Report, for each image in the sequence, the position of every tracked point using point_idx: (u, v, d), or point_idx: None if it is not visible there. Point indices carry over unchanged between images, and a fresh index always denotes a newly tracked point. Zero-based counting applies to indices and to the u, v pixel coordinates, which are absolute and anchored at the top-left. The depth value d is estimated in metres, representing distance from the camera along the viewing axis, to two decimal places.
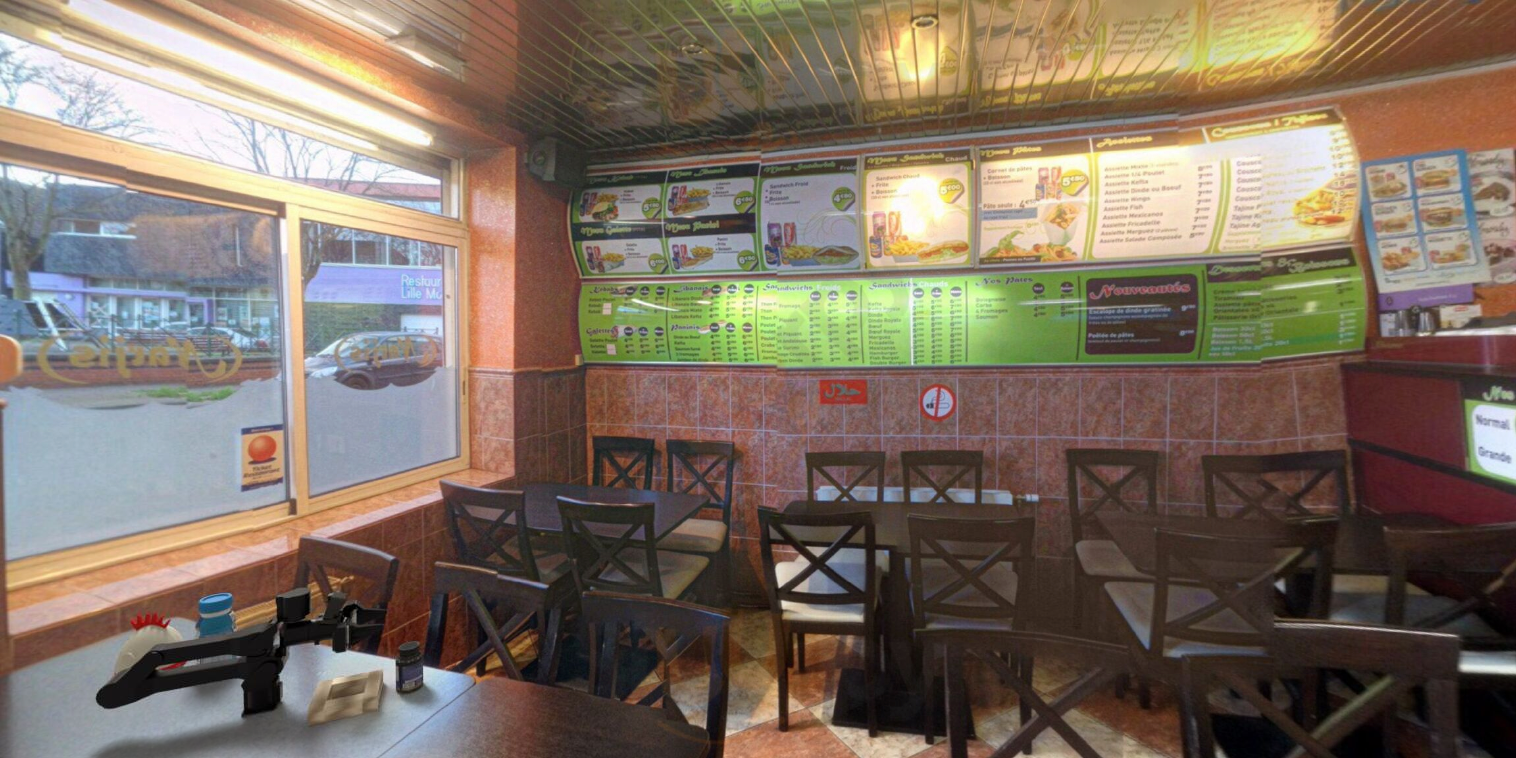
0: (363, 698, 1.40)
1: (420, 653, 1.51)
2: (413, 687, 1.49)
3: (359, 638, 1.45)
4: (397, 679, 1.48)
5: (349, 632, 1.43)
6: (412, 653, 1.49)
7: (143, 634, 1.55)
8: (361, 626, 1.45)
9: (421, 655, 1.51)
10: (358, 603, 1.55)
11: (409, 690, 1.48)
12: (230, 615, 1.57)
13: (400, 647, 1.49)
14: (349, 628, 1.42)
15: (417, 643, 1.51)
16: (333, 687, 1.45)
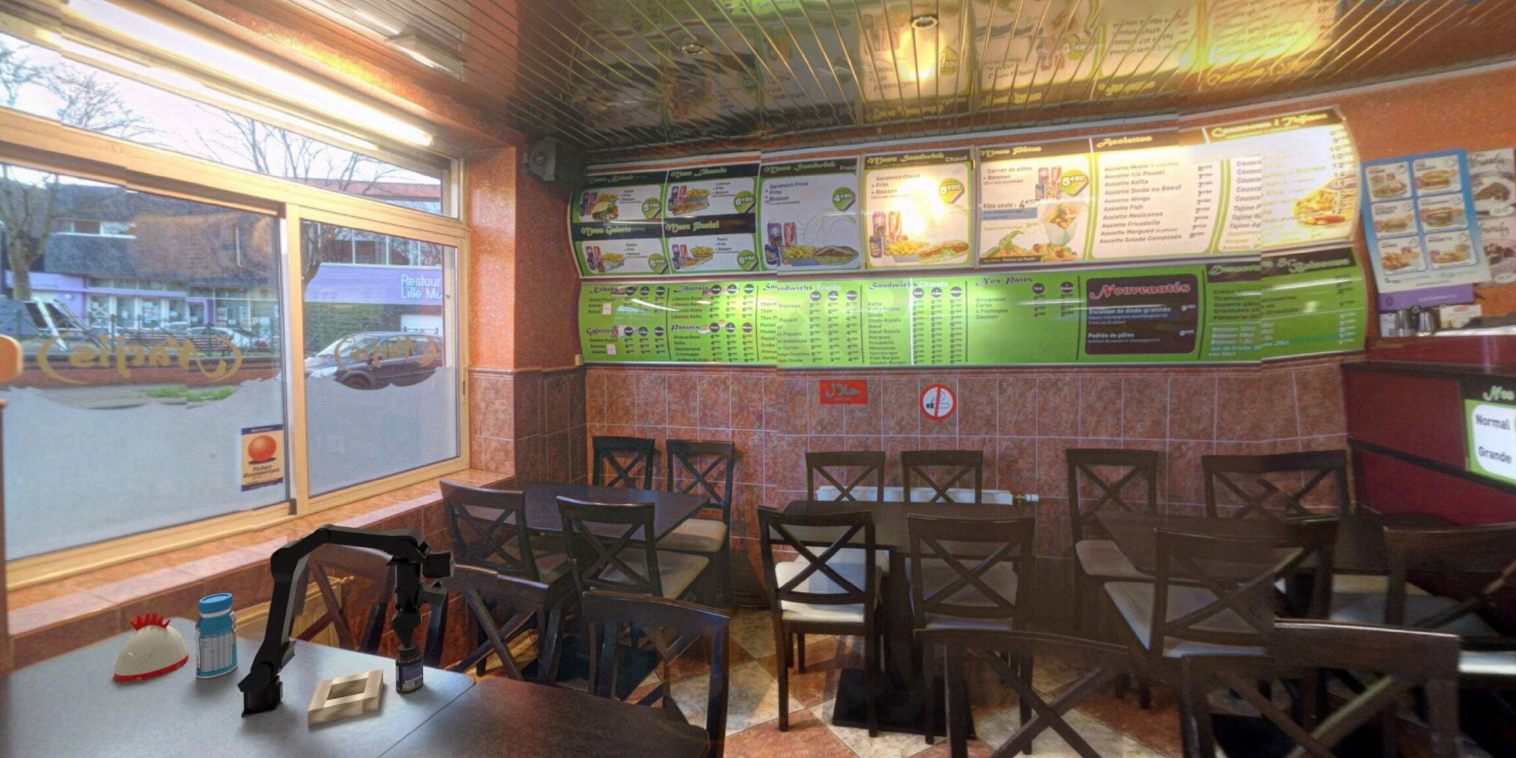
0: (363, 698, 1.40)
1: (420, 653, 1.51)
2: (413, 687, 1.49)
3: (401, 632, 1.44)
4: (397, 679, 1.48)
5: (412, 626, 1.43)
6: (412, 653, 1.49)
7: (143, 634, 1.55)
8: (413, 631, 1.46)
9: (421, 655, 1.51)
10: None
11: (409, 690, 1.48)
12: (230, 615, 1.57)
13: (400, 647, 1.49)
14: (417, 625, 1.44)
15: (417, 643, 1.51)
16: (333, 687, 1.45)
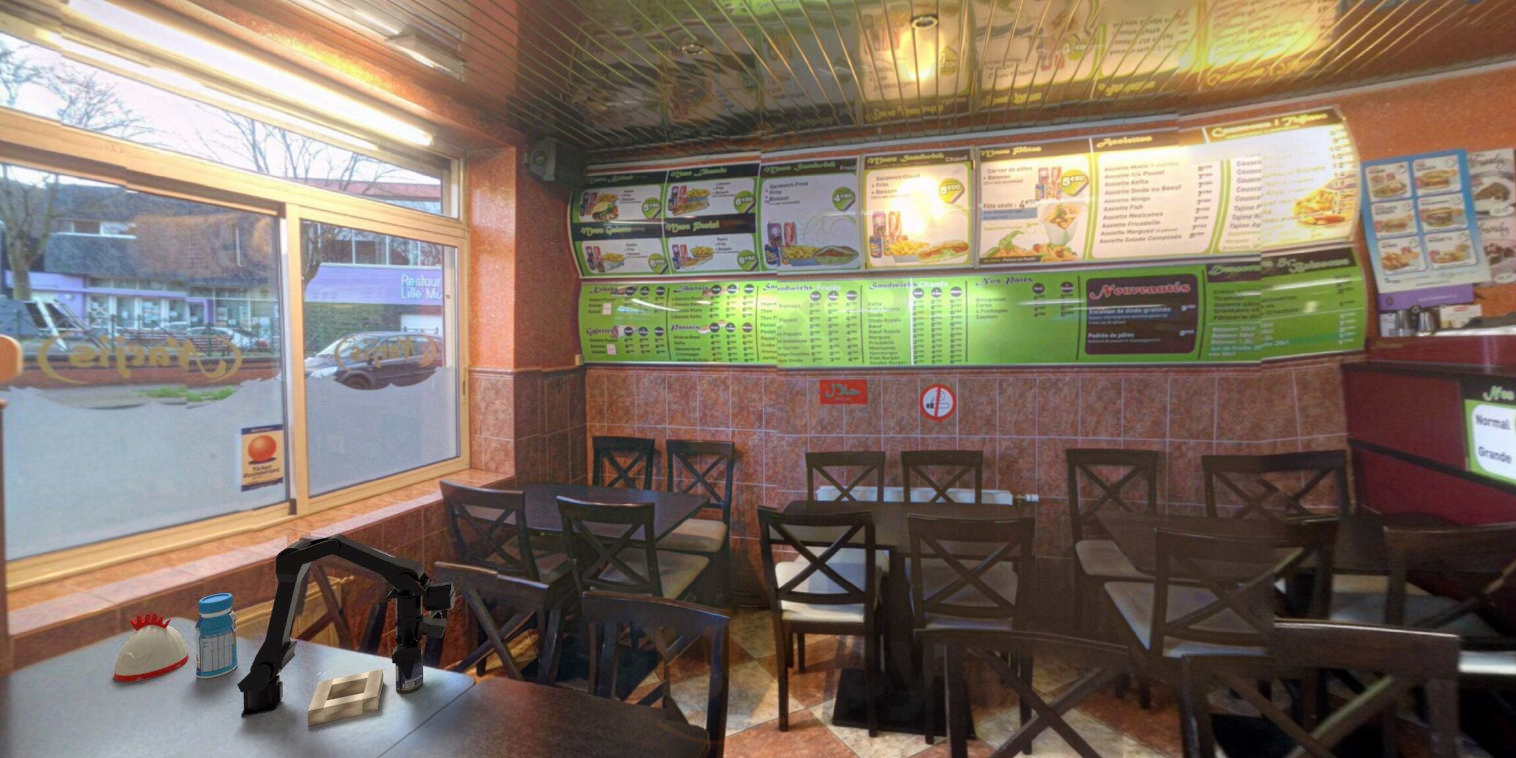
0: (363, 698, 1.40)
1: None
2: (413, 687, 1.49)
3: (401, 663, 1.45)
4: (397, 679, 1.48)
5: None
6: None
7: (143, 634, 1.55)
8: (414, 661, 1.47)
9: None
10: None
11: (409, 690, 1.48)
12: (230, 615, 1.57)
13: None
14: None
15: None
16: (333, 687, 1.45)
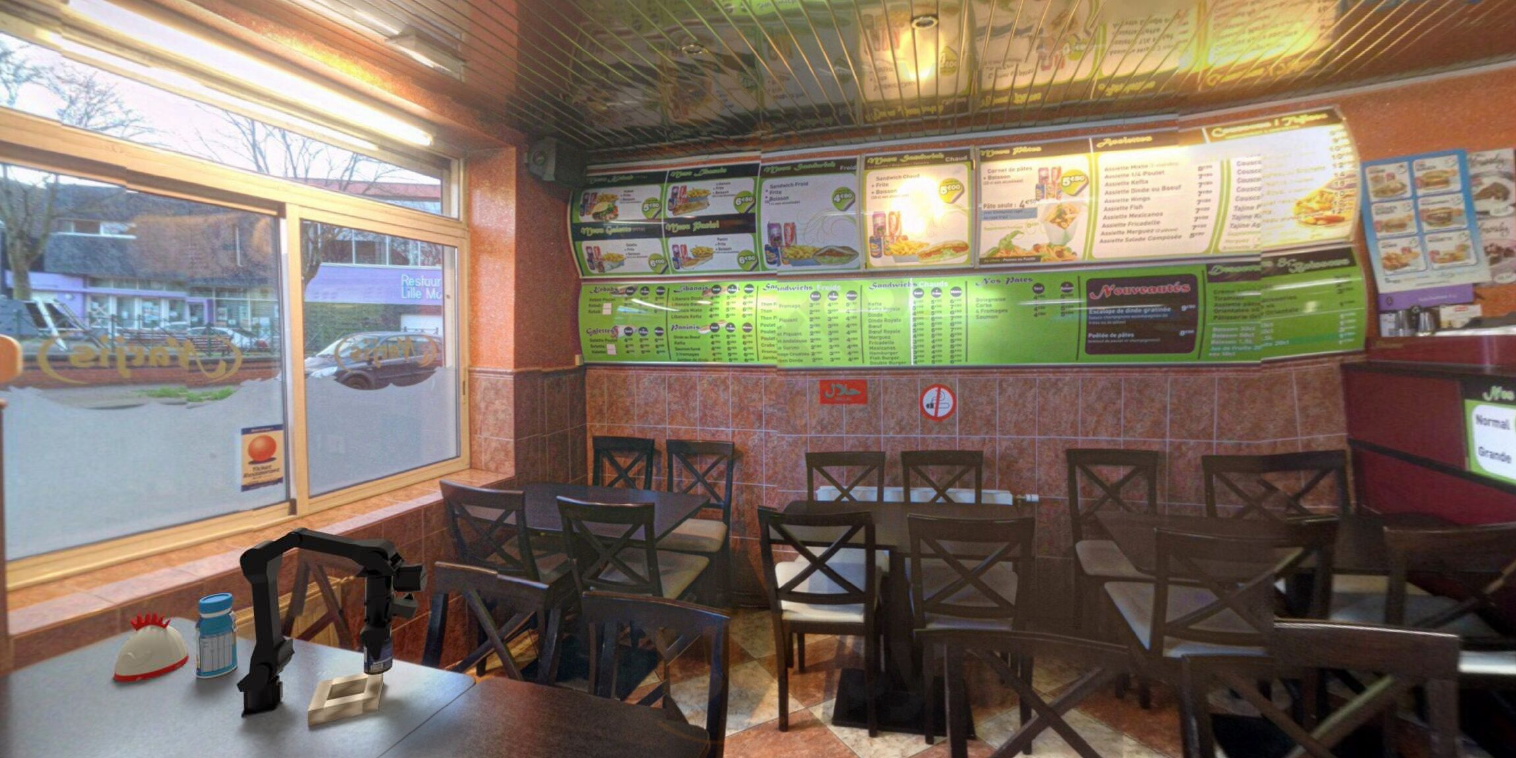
0: (363, 698, 1.40)
1: None
2: (382, 669, 1.45)
3: (369, 644, 1.42)
4: (365, 660, 1.44)
5: None
6: None
7: (143, 634, 1.55)
8: (382, 642, 1.43)
9: (391, 636, 1.47)
10: None
11: (377, 672, 1.44)
12: (230, 615, 1.57)
13: None
14: None
15: None
16: (333, 687, 1.45)
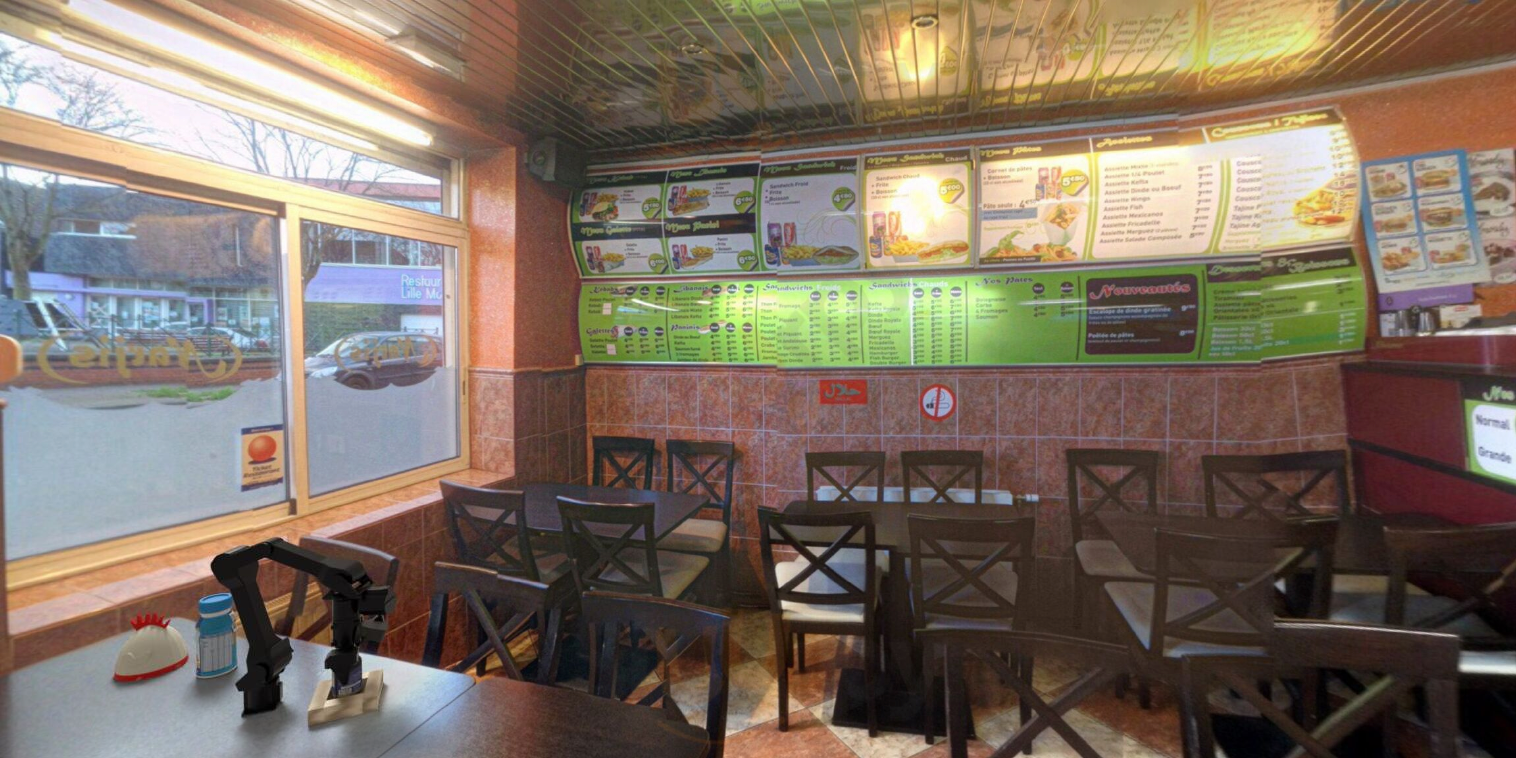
0: (363, 698, 1.40)
1: None
2: (350, 693, 1.42)
3: (336, 668, 1.38)
4: (333, 685, 1.41)
5: None
6: None
7: (143, 634, 1.55)
8: (350, 667, 1.40)
9: (359, 660, 1.44)
10: None
11: None
12: (230, 615, 1.57)
13: None
14: None
15: None
16: None
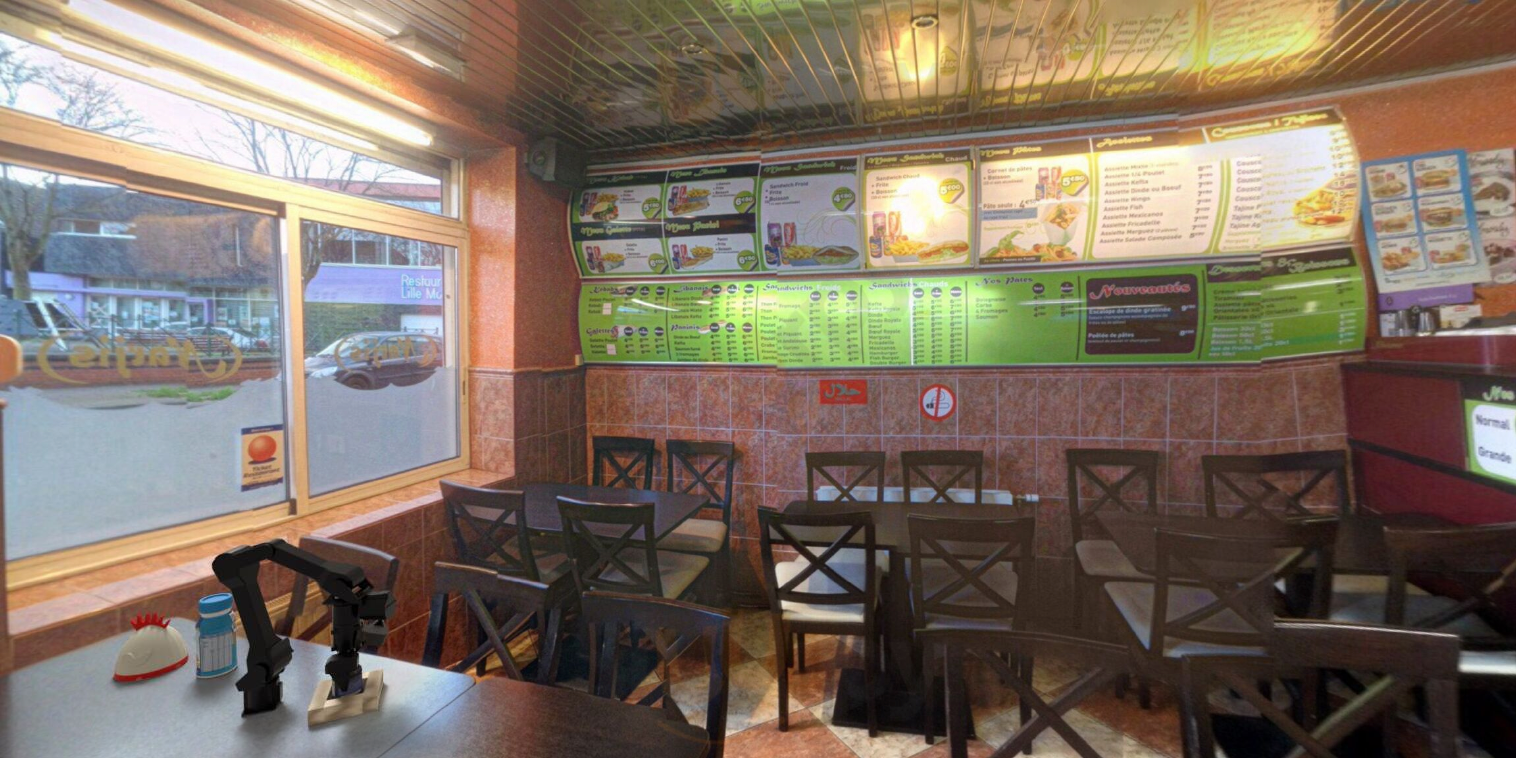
0: (363, 698, 1.40)
1: (358, 666, 1.44)
2: None
3: (336, 675, 1.38)
4: (333, 694, 1.41)
5: None
6: None
7: (143, 634, 1.55)
8: None
9: (360, 669, 1.44)
10: None
11: None
12: (230, 615, 1.57)
13: None
14: None
15: None
16: None
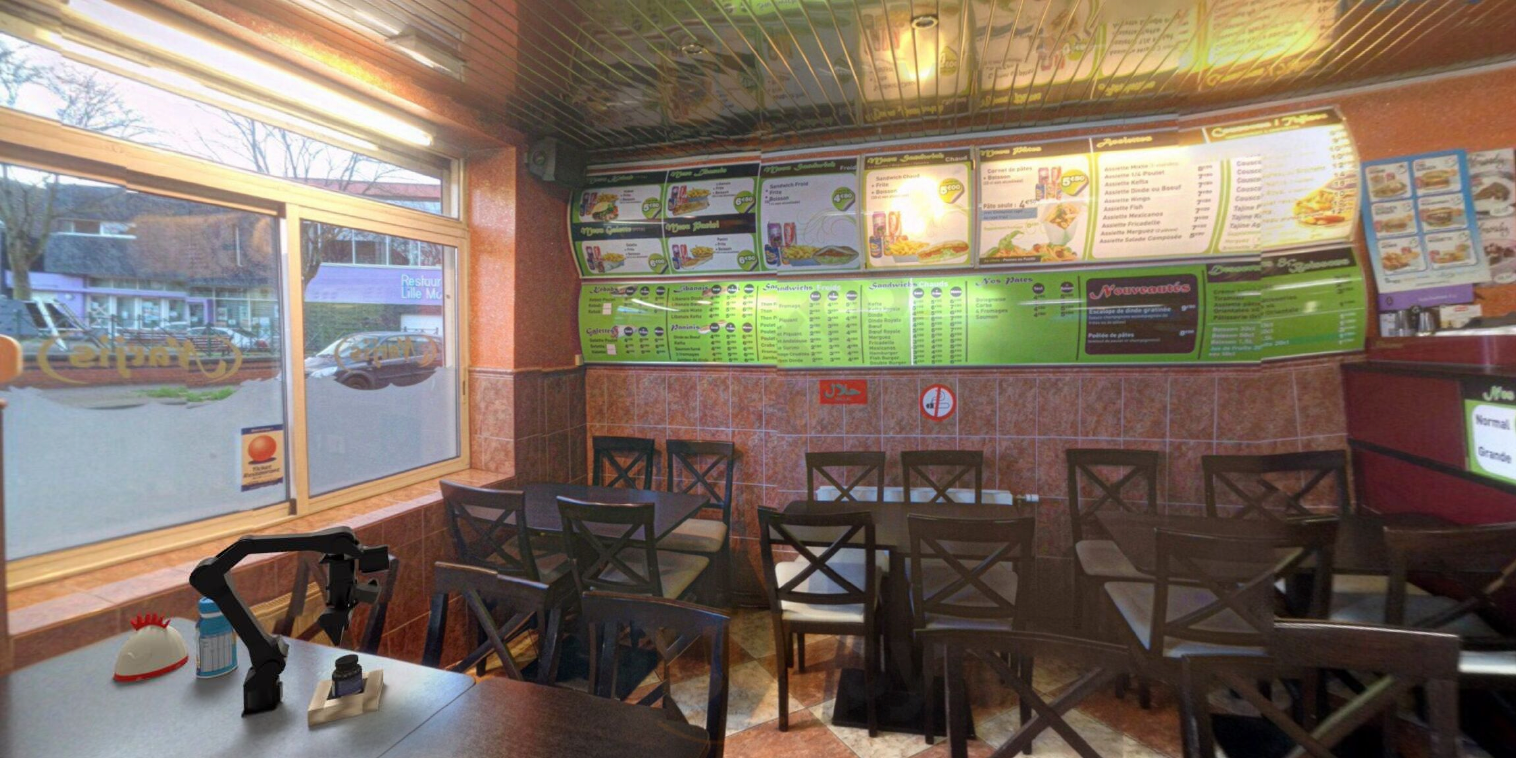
0: (363, 698, 1.40)
1: (358, 666, 1.44)
2: None
3: (329, 629, 1.44)
4: (333, 694, 1.41)
5: (340, 624, 1.43)
6: (349, 667, 1.42)
7: (143, 634, 1.55)
8: (342, 628, 1.45)
9: (360, 669, 1.44)
10: None
11: None
12: None
13: (337, 660, 1.42)
14: (344, 623, 1.43)
15: (356, 656, 1.45)
16: None
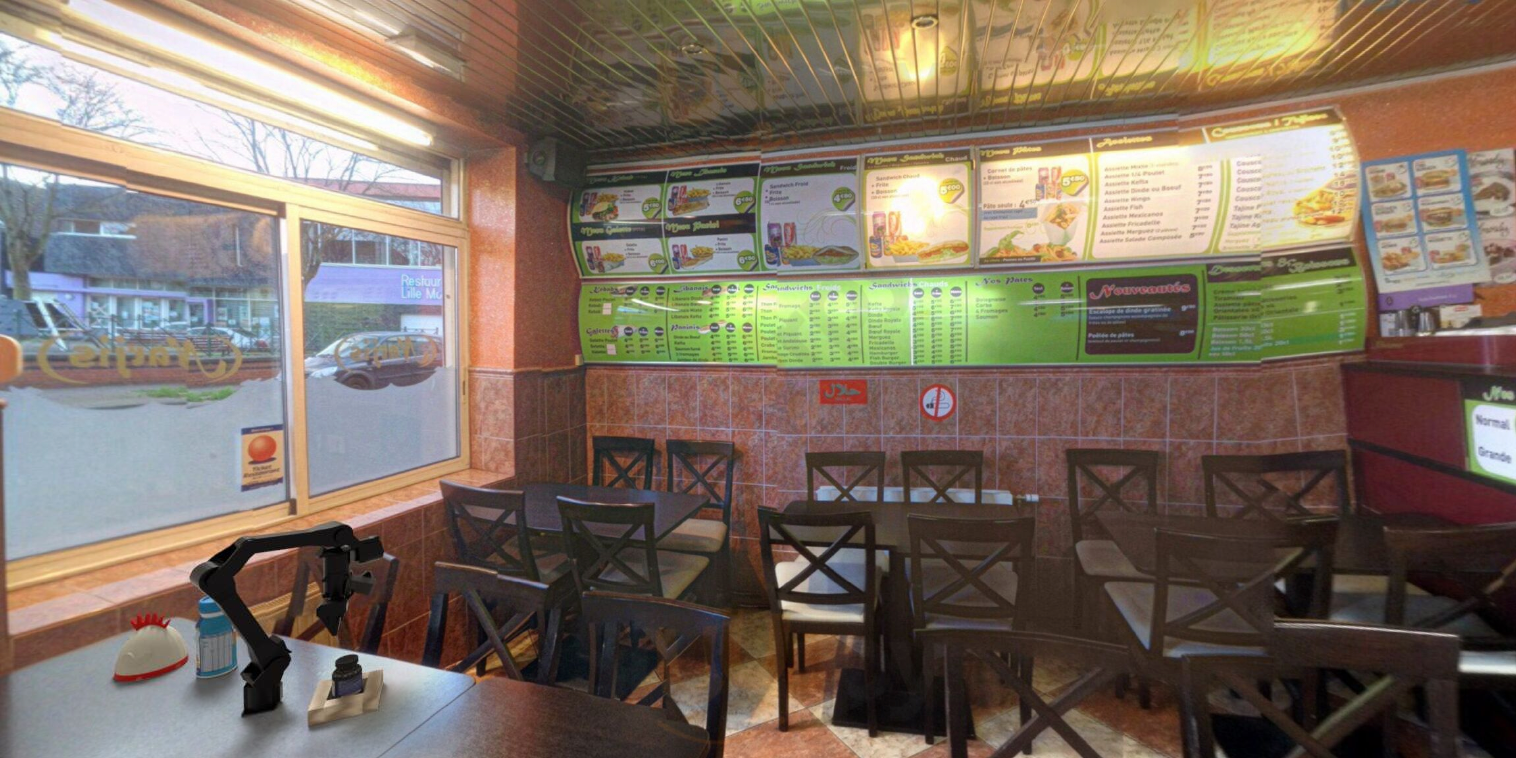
0: (363, 698, 1.40)
1: (358, 666, 1.44)
2: None
3: (327, 620, 1.48)
4: (333, 694, 1.41)
5: (337, 614, 1.48)
6: (349, 667, 1.42)
7: (143, 634, 1.55)
8: (339, 619, 1.50)
9: (360, 669, 1.44)
10: (353, 593, 1.61)
11: None
12: None
13: (337, 660, 1.42)
14: (342, 613, 1.48)
15: (356, 656, 1.45)
16: None
